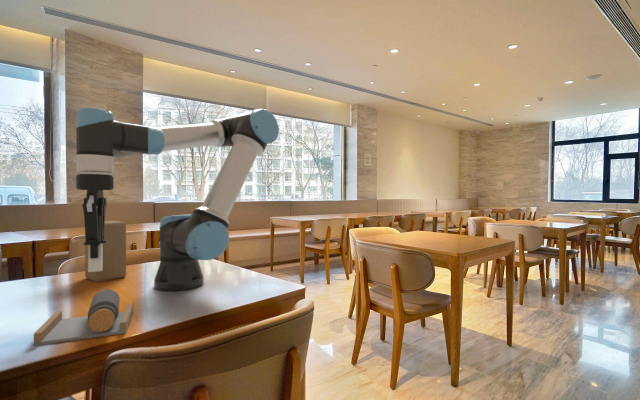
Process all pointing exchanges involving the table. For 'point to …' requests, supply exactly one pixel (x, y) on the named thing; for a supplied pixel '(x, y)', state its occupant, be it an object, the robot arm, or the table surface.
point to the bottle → (103, 310)
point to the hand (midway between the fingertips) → (95, 270)
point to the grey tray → (78, 328)
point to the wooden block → (111, 253)
